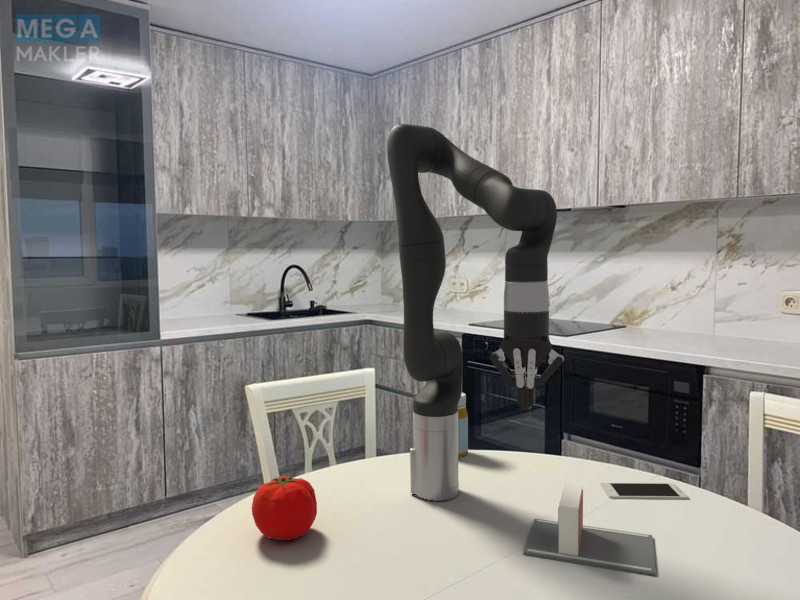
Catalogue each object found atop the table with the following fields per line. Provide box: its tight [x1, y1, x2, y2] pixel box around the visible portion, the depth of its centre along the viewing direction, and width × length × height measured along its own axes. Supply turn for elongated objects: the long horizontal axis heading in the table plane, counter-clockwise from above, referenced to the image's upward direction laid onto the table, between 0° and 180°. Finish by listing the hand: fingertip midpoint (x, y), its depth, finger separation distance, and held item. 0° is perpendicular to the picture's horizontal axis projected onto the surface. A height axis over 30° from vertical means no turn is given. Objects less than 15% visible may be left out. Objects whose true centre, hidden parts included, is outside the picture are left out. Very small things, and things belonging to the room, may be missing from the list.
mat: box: [522, 518, 657, 577], centre depth 100 cm, size 20×13×1 cm, turn 69°
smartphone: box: [599, 482, 689, 500], centre depth 122 cm, size 7×15×1 cm, turn 86°
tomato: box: [251, 475, 318, 541], centre depth 105 cm, size 12×12×10 cm
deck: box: [557, 482, 584, 556], centre depth 100 cm, size 3×10×8 cm, turn 159°
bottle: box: [458, 392, 469, 459], centre depth 146 cm, size 7×7×15 cm
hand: (526, 408), depth 102 cm, fingers closed
